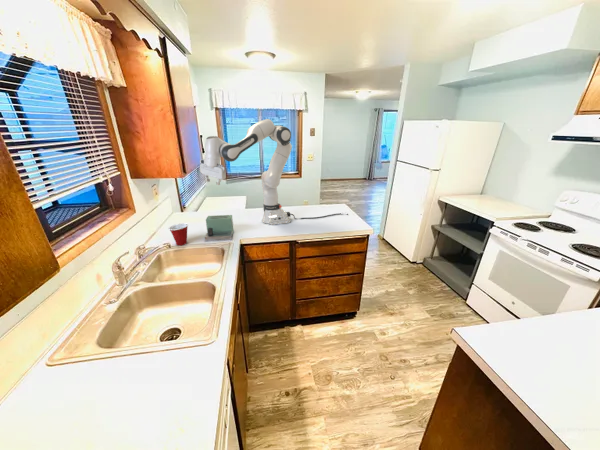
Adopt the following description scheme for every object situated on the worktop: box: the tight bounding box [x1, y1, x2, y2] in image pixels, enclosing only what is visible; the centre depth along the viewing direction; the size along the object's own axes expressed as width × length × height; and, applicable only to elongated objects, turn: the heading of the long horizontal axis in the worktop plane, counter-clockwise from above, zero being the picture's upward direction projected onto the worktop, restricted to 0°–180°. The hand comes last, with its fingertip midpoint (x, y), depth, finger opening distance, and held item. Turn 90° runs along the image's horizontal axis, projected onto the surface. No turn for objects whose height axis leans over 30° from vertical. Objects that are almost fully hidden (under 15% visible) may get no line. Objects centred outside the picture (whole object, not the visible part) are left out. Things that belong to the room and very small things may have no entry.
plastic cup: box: [168, 223, 189, 247], centre depth 147 cm, size 11×11×12 cm
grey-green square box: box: [204, 214, 234, 242], centre depth 159 cm, size 16×16×12 cm
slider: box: [208, 228, 213, 235], centre depth 155 cm, size 2×3×4 cm
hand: (213, 183), depth 160 cm, fingers open, 8 cm apart
